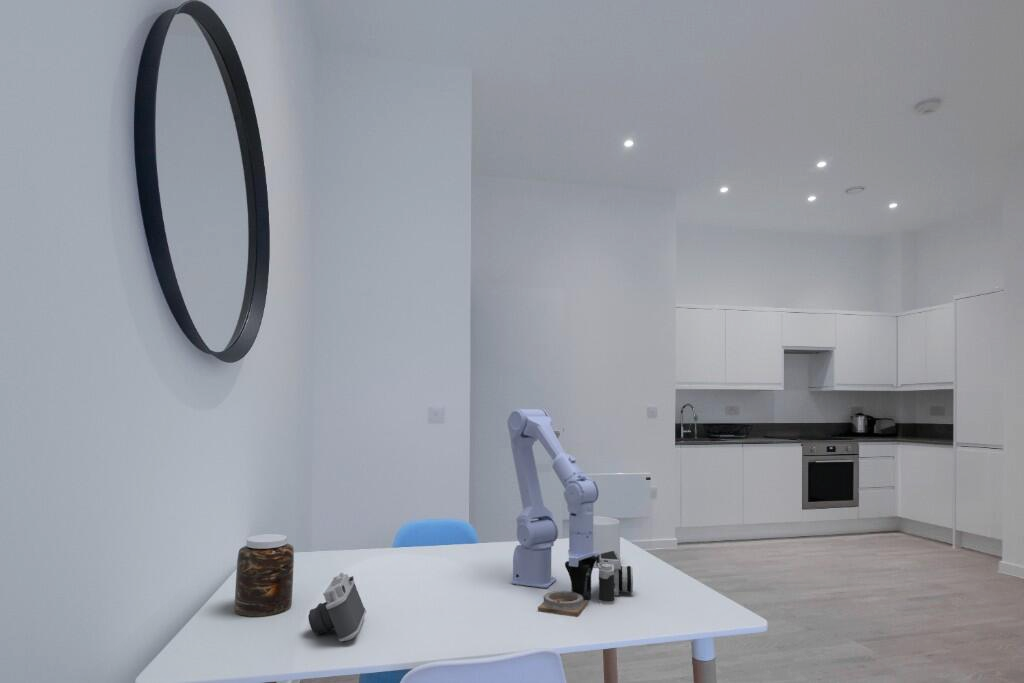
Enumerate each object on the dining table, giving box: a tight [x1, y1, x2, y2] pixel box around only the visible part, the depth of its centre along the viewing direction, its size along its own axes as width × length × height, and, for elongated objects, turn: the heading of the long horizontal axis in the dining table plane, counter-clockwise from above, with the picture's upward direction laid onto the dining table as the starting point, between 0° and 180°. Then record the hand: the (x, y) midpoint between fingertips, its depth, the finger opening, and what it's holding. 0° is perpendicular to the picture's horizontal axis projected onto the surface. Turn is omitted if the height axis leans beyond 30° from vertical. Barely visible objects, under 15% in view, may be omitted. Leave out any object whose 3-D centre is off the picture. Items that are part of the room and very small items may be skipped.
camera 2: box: [596, 550, 634, 605], centre depth 147 cm, size 16×9×10 cm, turn 171°
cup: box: [593, 516, 621, 569], centre depth 176 cm, size 12×12×12 cm
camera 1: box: [307, 572, 367, 642], centre depth 121 cm, size 9×16×10 cm, turn 10°
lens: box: [570, 567, 592, 602], centre depth 143 cm, size 5×5×7 cm
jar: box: [234, 533, 295, 618], centre depth 134 cm, size 12×12×15 cm
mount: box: [537, 590, 589, 617], centre depth 136 cm, size 9×9×2 cm
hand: (581, 591), depth 143 cm, fingers closed on lens, 5 cm apart
